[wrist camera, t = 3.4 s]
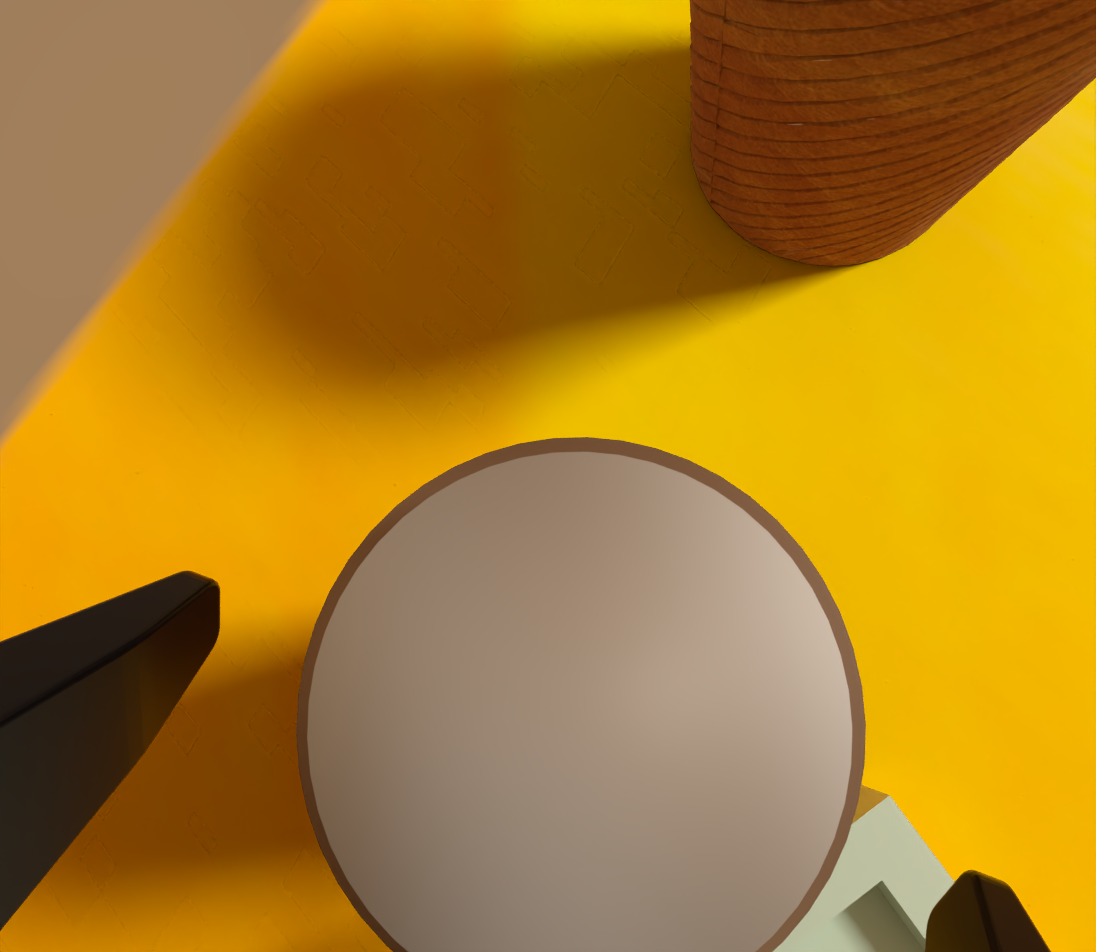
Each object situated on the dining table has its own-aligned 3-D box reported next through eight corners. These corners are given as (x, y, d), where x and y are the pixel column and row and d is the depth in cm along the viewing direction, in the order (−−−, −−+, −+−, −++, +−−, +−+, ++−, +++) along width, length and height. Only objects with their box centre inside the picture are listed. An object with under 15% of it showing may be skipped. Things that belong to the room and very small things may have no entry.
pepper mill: (552, 869, 17) (488, 1245, 6) (421, 665, 18) (140, 632, 7) (745, 725, 18) (1051, 803, 6) (607, 534, 19) (646, 293, 7)
